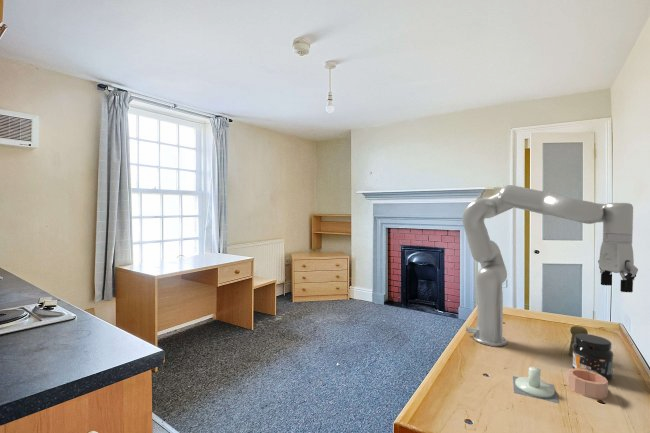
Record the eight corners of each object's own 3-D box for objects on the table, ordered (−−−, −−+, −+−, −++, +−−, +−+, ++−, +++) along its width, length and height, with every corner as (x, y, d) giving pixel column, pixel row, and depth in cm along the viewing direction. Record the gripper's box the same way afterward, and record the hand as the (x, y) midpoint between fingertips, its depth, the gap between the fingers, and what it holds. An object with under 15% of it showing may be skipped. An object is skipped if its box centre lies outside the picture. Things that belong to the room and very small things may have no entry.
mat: (514, 394, 96) (514, 392, 96) (512, 377, 106) (512, 376, 106) (559, 405, 91) (559, 403, 91) (553, 386, 101) (553, 384, 101)
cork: (592, 360, 118) (593, 330, 118) (573, 358, 120) (574, 329, 119) (582, 353, 124) (583, 324, 124) (565, 351, 126) (565, 323, 125)
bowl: (570, 395, 96) (571, 379, 96) (565, 380, 104) (565, 365, 104) (611, 403, 92) (611, 387, 92) (602, 388, 100) (602, 372, 100)
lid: (516, 392, 96) (516, 372, 96) (514, 377, 105) (514, 358, 105) (556, 401, 92) (557, 380, 92) (551, 385, 100) (552, 366, 100)
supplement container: (564, 369, 111) (565, 335, 111) (584, 364, 115) (585, 331, 115) (599, 385, 102) (600, 347, 101) (620, 379, 105) (621, 342, 105)
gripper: (589, 236, 120) (587, 282, 120) (623, 240, 103) (621, 294, 103) (612, 236, 118) (610, 283, 119) (650, 241, 101) (648, 295, 102)
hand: (615, 288), depth 111 cm, fingers open, 9 cm apart
